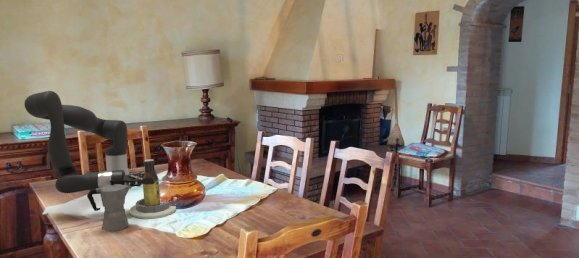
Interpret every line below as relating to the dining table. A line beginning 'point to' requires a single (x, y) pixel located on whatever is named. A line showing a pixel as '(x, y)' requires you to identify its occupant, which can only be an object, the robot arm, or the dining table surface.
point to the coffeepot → (112, 205)
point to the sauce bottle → (151, 185)
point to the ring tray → (151, 215)
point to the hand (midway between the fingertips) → (154, 177)
